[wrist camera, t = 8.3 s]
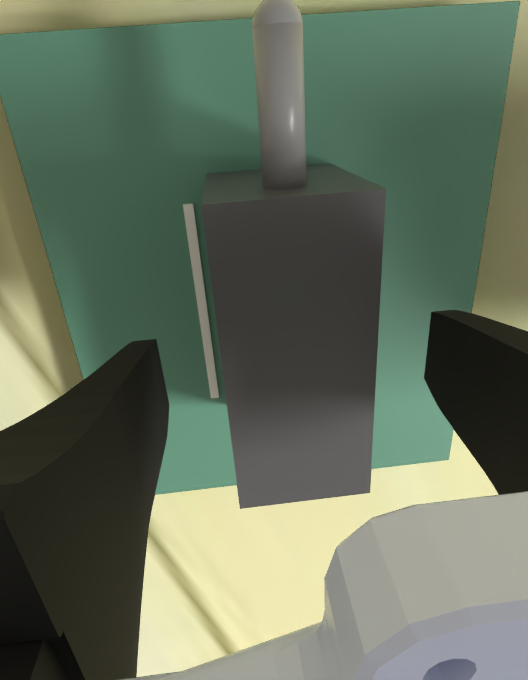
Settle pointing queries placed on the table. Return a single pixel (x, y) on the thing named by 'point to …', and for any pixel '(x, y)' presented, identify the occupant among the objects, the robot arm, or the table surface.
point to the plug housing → (295, 294)
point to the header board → (244, 154)
